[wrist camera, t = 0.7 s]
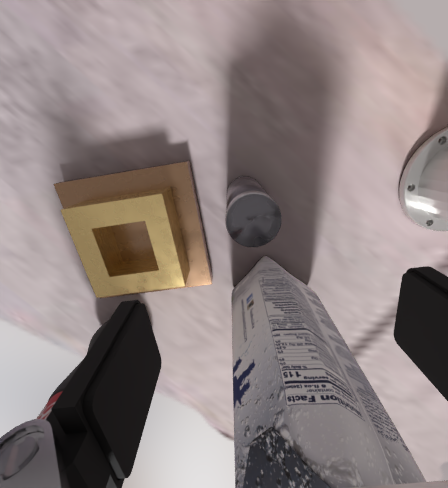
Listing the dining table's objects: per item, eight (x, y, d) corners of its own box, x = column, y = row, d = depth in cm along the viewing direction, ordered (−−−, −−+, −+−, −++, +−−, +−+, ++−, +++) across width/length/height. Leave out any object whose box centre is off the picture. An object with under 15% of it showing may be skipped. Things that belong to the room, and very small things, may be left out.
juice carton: (262, 244, 33) (367, 544, 8) (317, 286, 36) (530, 619, 11) (223, 289, 36) (210, 616, 11) (276, 324, 38) (367, 664, 13)
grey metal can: (260, 173, 30) (279, 189, 19) (264, 209, 32) (283, 243, 20) (224, 179, 30) (221, 198, 19) (229, 214, 32) (230, 250, 21)
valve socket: (189, 160, 29) (180, 164, 24) (212, 276, 35) (209, 301, 30) (64, 181, 31) (27, 189, 25) (106, 290, 36) (84, 316, 31)
